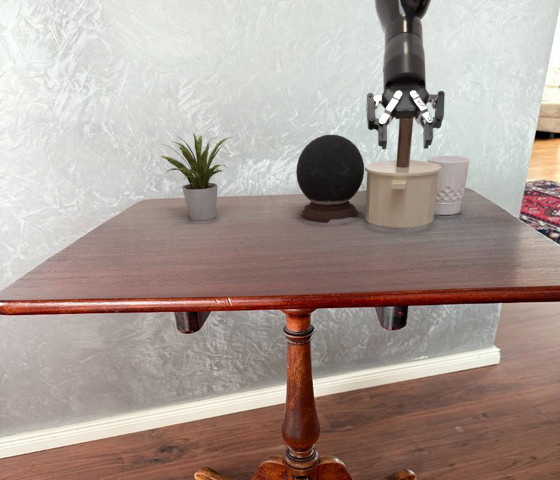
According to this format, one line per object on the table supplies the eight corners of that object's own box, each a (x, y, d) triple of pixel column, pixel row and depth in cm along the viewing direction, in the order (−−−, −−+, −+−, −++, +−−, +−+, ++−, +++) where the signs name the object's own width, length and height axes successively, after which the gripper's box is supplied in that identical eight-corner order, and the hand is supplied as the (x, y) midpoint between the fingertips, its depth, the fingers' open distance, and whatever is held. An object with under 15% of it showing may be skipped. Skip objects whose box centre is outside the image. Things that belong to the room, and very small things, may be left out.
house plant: (222, 204, 121) (215, 124, 113) (253, 216, 111) (248, 129, 102) (162, 215, 114) (150, 130, 106) (190, 228, 104) (179, 136, 96)
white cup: (448, 218, 104) (455, 163, 99) (414, 211, 110) (419, 159, 105) (470, 210, 109) (478, 157, 104) (436, 204, 114) (442, 154, 109)
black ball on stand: (284, 215, 111) (281, 135, 103) (332, 204, 118) (333, 129, 110) (326, 227, 102) (327, 141, 94) (376, 215, 108) (380, 133, 101)
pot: (433, 211, 110) (439, 161, 105) (431, 236, 95) (437, 179, 90) (371, 209, 113) (373, 160, 108) (359, 233, 98) (361, 178, 93)
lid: (441, 166, 103) (447, 114, 99) (439, 180, 92) (446, 122, 87) (369, 165, 107) (372, 114, 102) (359, 179, 95) (362, 122, 91)
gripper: (365, 53, 97) (365, 132, 93) (448, 50, 95) (451, 130, 91) (363, 85, 104) (363, 160, 100) (439, 83, 103) (443, 158, 98)
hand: (405, 145), depth 96 cm, fingers open, 6 cm apart
